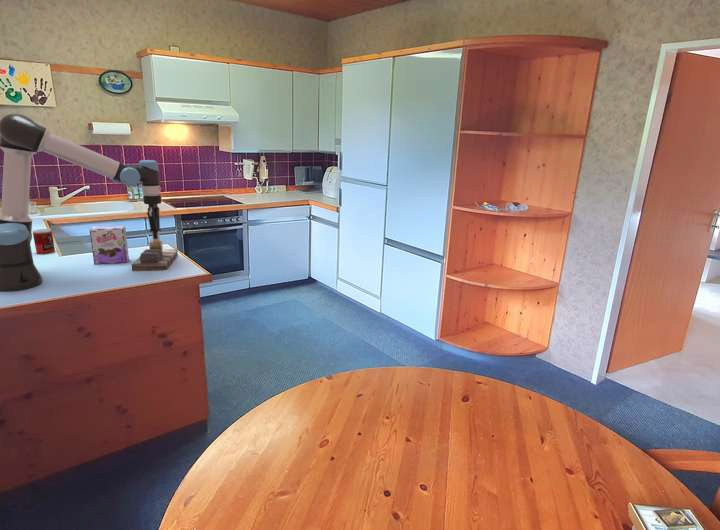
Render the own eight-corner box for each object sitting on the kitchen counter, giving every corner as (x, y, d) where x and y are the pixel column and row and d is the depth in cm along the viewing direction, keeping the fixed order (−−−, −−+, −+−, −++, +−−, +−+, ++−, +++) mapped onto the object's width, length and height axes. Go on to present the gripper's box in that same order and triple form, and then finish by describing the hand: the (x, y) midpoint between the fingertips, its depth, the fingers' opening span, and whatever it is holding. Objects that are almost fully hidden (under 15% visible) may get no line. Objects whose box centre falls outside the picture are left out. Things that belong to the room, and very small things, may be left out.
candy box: (93, 264, 206) (88, 229, 202) (97, 261, 212) (92, 226, 207) (127, 263, 210) (122, 228, 206) (129, 259, 215) (125, 225, 211)
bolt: (158, 258, 206) (157, 245, 204) (146, 258, 205) (145, 246, 204) (163, 253, 216) (162, 240, 214) (152, 253, 215) (151, 241, 213)
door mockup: (166, 270, 201) (164, 255, 199) (132, 271, 198) (130, 255, 196) (177, 255, 225) (176, 241, 223) (147, 255, 223) (146, 242, 221)
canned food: (46, 254, 221) (42, 232, 218) (32, 253, 222) (28, 231, 219) (59, 251, 228) (55, 229, 225) (45, 250, 229) (41, 228, 226)
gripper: (157, 196, 202) (162, 248, 209) (163, 193, 215) (168, 241, 221) (139, 196, 201) (144, 248, 207) (146, 193, 213) (151, 242, 220)
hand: (156, 245), depth 214 cm, fingers closed
